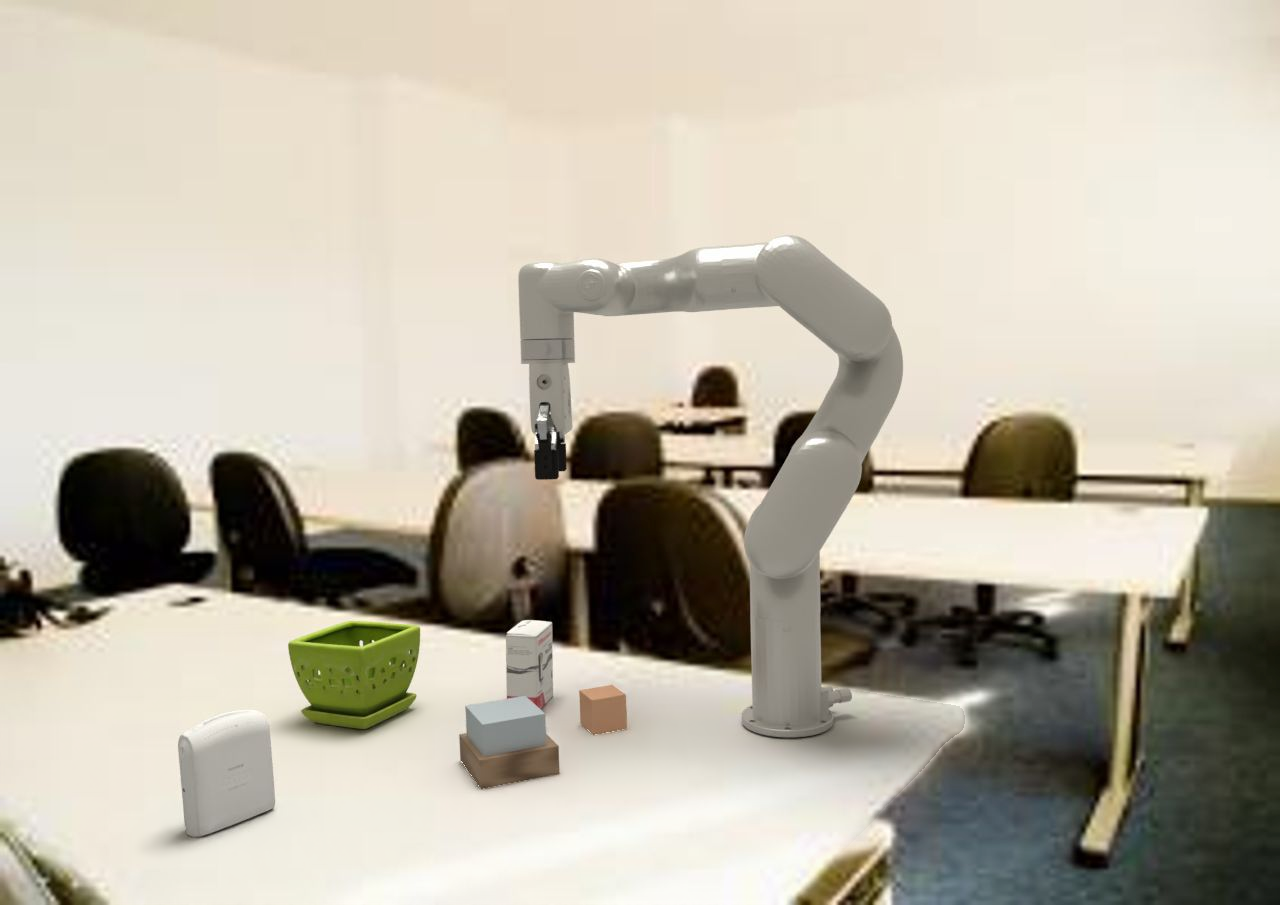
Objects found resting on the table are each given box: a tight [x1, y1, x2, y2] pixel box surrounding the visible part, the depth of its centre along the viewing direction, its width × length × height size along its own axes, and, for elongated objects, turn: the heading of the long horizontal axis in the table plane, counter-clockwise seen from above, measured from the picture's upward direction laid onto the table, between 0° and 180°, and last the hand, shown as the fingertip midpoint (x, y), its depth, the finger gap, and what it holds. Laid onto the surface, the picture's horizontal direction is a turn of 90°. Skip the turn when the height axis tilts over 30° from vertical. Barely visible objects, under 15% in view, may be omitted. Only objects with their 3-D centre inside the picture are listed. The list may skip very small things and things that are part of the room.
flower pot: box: [287, 620, 421, 730], centre depth 155 cm, size 14×14×13 cm
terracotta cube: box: [578, 684, 628, 736], centre depth 148 cm, size 5×5×5 cm
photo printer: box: [177, 709, 276, 838], centre depth 121 cm, size 10×4×12 cm, turn 140°
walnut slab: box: [458, 732, 561, 790], centre depth 134 cm, size 10×10×4 cm
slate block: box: [465, 696, 547, 757], centre depth 134 cm, size 8×8×4 cm
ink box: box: [505, 619, 554, 710], centre depth 158 cm, size 9×5×12 cm, turn 168°
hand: (551, 475), depth 150 cm, fingers open, 9 cm apart
